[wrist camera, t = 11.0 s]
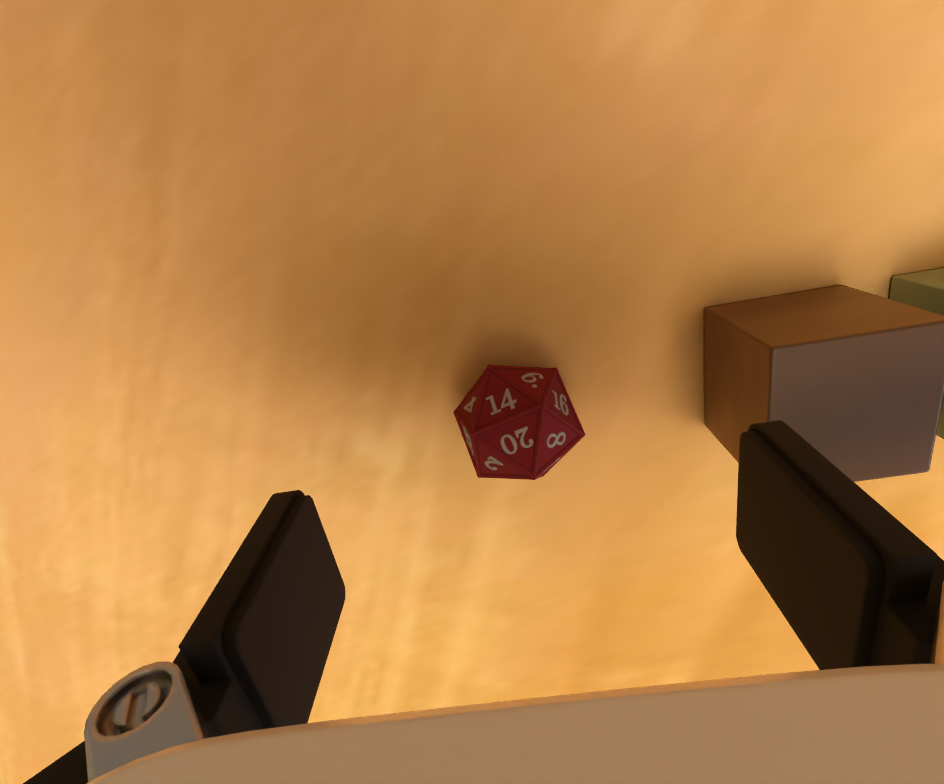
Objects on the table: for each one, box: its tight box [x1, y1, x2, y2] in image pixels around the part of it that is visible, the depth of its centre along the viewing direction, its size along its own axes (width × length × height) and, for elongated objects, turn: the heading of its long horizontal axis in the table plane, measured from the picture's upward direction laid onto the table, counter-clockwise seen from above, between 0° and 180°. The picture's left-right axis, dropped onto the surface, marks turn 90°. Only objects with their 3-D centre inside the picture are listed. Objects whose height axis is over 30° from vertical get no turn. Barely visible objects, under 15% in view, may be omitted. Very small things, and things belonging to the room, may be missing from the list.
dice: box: [454, 365, 585, 480], centre depth 17 cm, size 4×4×4 cm
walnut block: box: [704, 285, 944, 482], centre depth 16 cm, size 4×4×4 cm
